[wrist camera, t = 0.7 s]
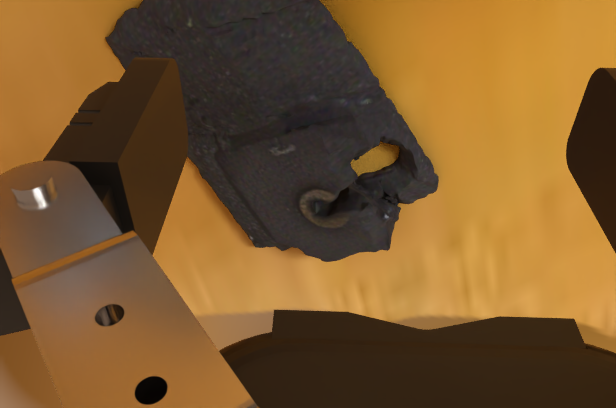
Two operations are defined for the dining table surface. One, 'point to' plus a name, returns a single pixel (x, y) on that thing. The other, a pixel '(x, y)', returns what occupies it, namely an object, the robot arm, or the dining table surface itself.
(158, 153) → the robot arm
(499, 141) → the dining table surface
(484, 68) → the dining table surface
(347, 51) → the dark slate chunk
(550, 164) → the dining table surface
